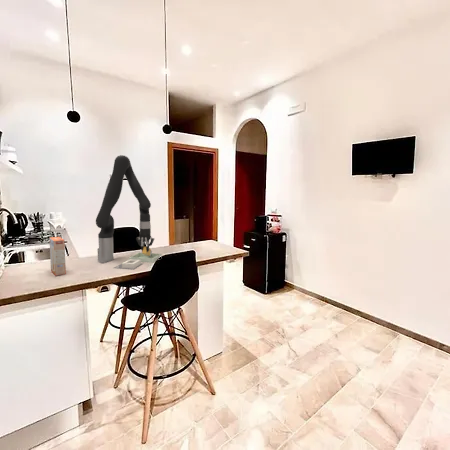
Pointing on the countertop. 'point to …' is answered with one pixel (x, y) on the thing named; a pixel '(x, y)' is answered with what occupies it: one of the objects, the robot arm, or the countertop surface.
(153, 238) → the robot arm
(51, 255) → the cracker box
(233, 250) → the countertop surface
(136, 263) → the block
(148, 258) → the parts tray
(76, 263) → the countertop surface
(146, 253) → the fuse
